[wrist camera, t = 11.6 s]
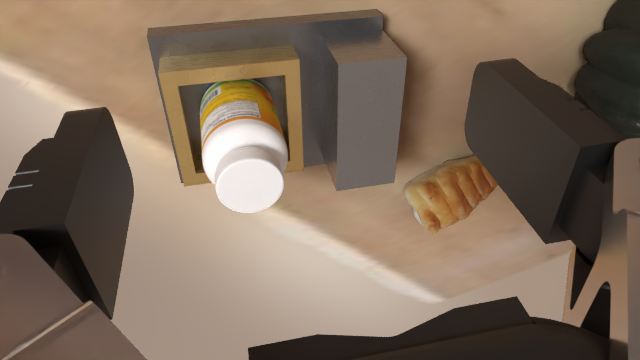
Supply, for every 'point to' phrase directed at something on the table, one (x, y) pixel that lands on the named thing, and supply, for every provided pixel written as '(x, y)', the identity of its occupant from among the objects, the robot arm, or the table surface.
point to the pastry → (448, 192)
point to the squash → (614, 70)
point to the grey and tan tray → (292, 88)
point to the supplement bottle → (242, 145)
